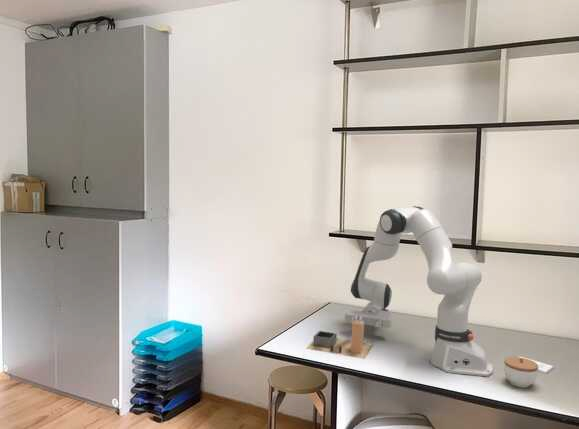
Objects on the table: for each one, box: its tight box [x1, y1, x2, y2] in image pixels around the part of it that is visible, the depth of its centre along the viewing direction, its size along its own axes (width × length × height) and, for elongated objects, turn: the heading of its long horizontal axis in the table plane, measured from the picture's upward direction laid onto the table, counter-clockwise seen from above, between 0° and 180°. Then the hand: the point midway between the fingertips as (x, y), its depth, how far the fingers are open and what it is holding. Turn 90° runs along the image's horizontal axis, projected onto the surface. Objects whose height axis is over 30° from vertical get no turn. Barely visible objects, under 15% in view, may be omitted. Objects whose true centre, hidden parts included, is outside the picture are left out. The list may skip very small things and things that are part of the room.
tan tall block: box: [350, 316, 365, 354], centre depth 193 cm, size 4×4×14 cm
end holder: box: [312, 330, 338, 349], centre depth 200 cm, size 8×8×4 cm
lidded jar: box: [503, 356, 539, 389], centre depth 170 cm, size 11×11×9 cm
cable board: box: [305, 338, 375, 360], centre depth 199 cm, size 24×17×3 cm
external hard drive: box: [519, 356, 554, 375], centre depth 187 cm, size 2×8×12 cm
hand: (364, 323), depth 204 cm, fingers open, 8 cm apart
